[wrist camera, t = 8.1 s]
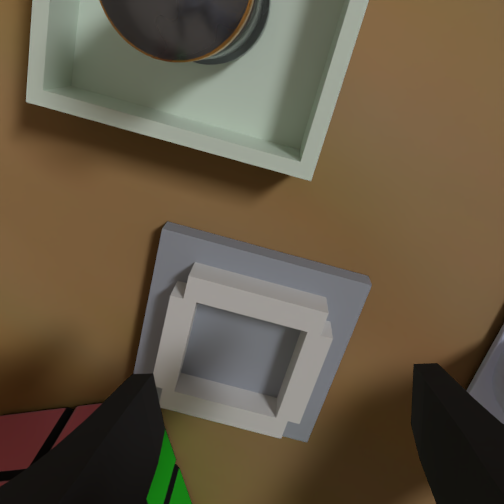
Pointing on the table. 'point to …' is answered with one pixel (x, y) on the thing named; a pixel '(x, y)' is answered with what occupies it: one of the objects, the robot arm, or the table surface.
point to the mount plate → (245, 331)
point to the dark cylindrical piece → (189, 27)
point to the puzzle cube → (55, 430)
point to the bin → (202, 81)
